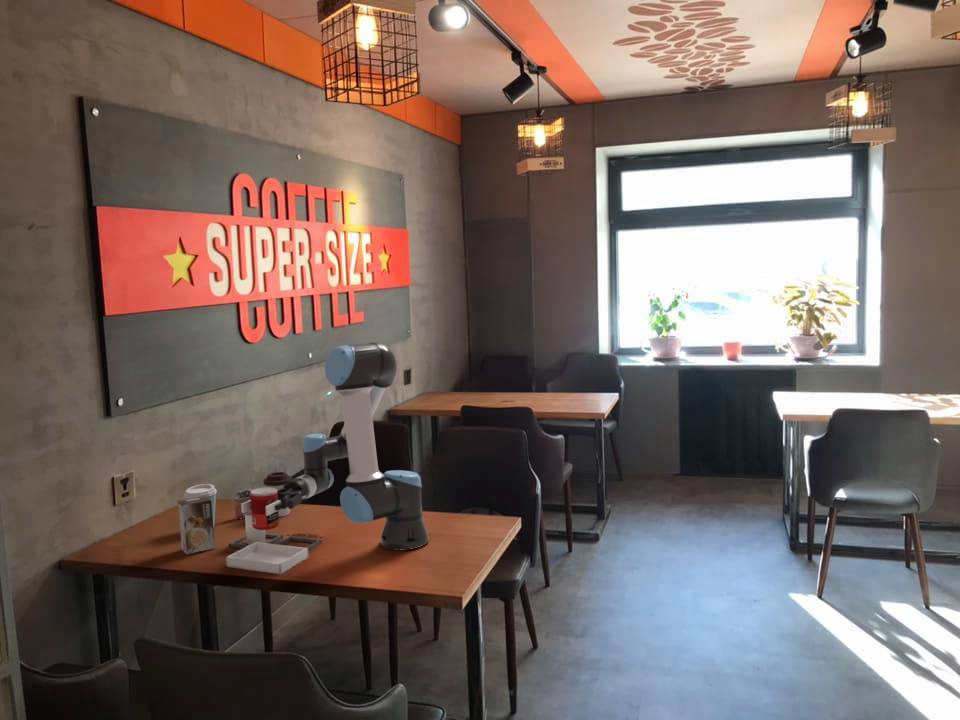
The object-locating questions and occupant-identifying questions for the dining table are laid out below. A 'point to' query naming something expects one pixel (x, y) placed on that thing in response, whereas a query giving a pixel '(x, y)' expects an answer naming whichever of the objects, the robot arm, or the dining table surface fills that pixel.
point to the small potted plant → (242, 498)
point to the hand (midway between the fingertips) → (254, 509)
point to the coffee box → (196, 524)
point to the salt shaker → (253, 531)
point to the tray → (267, 557)
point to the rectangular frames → (279, 537)
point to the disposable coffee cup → (203, 494)
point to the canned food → (263, 508)
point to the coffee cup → (278, 486)
